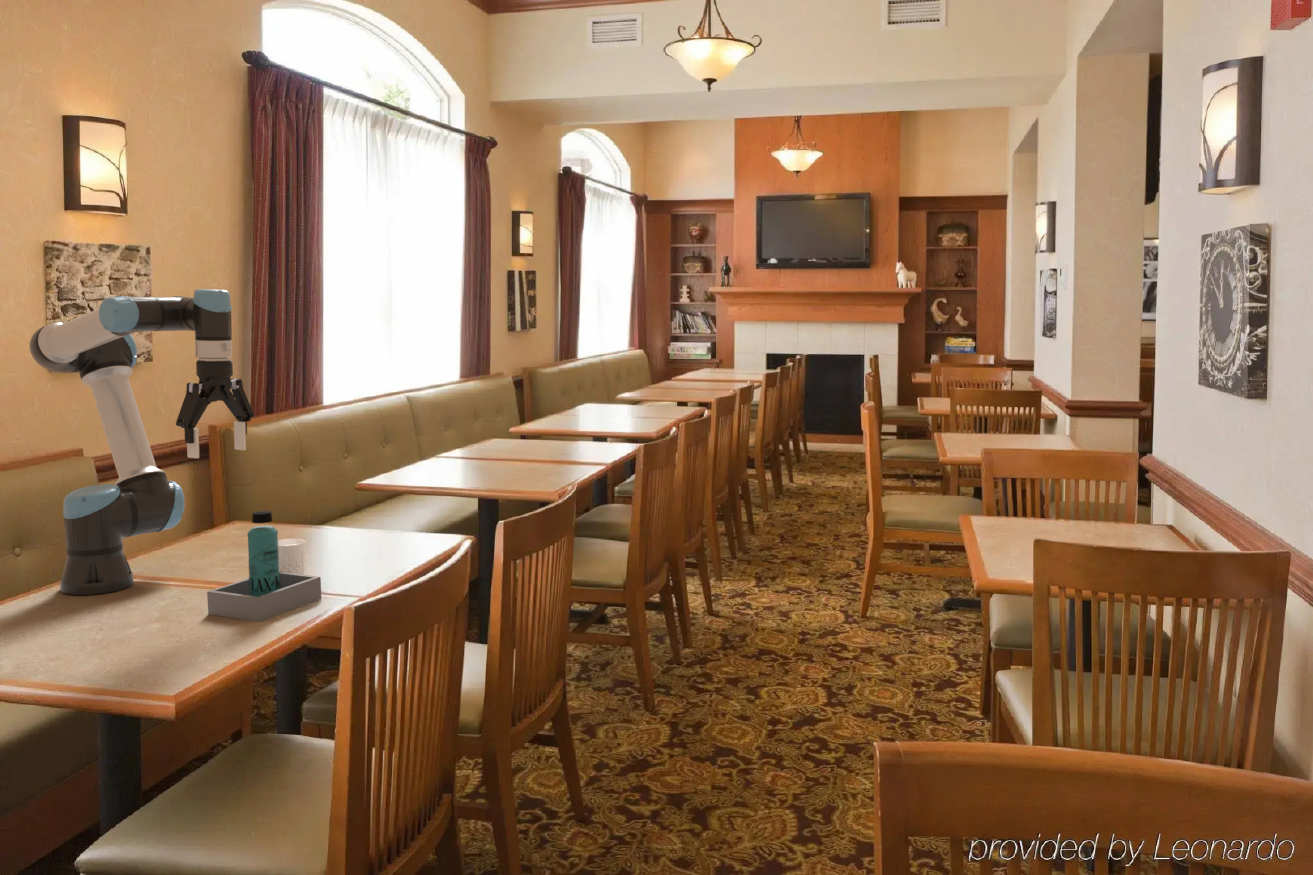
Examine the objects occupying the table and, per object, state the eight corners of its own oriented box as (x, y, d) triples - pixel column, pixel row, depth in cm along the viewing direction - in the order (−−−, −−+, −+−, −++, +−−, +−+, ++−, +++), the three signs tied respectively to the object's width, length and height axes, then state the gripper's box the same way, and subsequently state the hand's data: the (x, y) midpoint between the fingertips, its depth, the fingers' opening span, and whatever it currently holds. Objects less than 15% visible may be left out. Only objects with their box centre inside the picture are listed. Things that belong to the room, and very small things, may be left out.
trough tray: (208, 614, 226) (207, 591, 226) (272, 592, 244) (271, 570, 243) (259, 621, 221) (257, 598, 220) (321, 598, 238) (320, 576, 237)
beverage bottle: (243, 604, 230) (238, 513, 228) (264, 596, 236) (259, 507, 234) (267, 607, 228) (262, 515, 225) (288, 599, 234) (284, 509, 231)
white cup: (312, 579, 255) (310, 538, 253) (298, 588, 247) (296, 546, 246) (280, 578, 255) (278, 538, 254) (265, 587, 248) (263, 545, 246)
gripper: (181, 363, 223) (185, 462, 226) (268, 357, 246) (270, 447, 249) (155, 361, 226) (159, 459, 229) (243, 355, 249) (246, 445, 252)
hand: (217, 453), depth 239 cm, fingers open, 13 cm apart
